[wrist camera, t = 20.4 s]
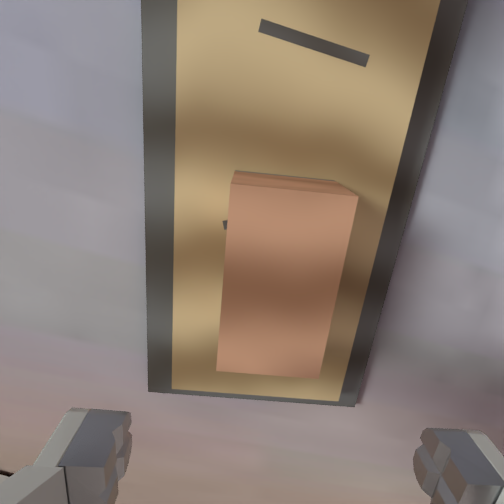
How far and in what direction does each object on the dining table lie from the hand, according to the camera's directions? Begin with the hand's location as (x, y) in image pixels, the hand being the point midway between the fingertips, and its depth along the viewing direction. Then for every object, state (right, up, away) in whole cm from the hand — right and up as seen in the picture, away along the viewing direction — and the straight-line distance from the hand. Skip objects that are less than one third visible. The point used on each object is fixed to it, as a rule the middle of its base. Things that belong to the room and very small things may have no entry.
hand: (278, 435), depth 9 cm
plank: (+1, +10, +9) cm, 14 cm away
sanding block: (0, +5, +9) cm, 10 cm away
